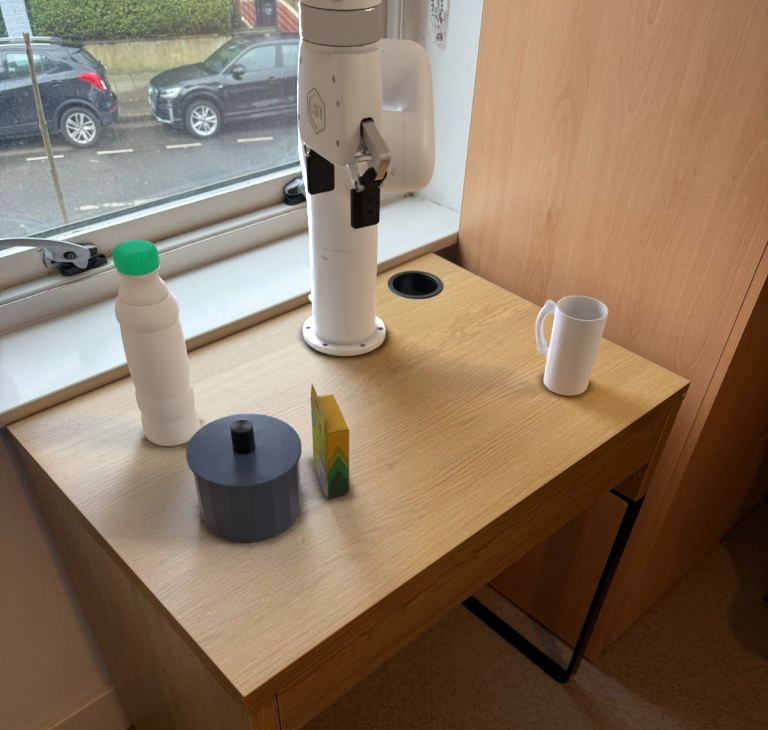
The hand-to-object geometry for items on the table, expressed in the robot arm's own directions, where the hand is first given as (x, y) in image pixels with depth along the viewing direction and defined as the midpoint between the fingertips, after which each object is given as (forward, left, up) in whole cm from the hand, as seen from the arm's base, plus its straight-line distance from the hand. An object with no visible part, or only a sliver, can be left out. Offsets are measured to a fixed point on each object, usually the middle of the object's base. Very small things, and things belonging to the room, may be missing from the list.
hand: (342, 208), depth 82 cm
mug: (+7, +31, -28) cm, 43 cm away
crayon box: (+10, -7, -28) cm, 31 cm away
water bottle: (-8, -21, -28) cm, 36 cm away
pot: (+10, -18, -28) cm, 35 cm away
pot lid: (+10, -18, -20) cm, 28 cm away
